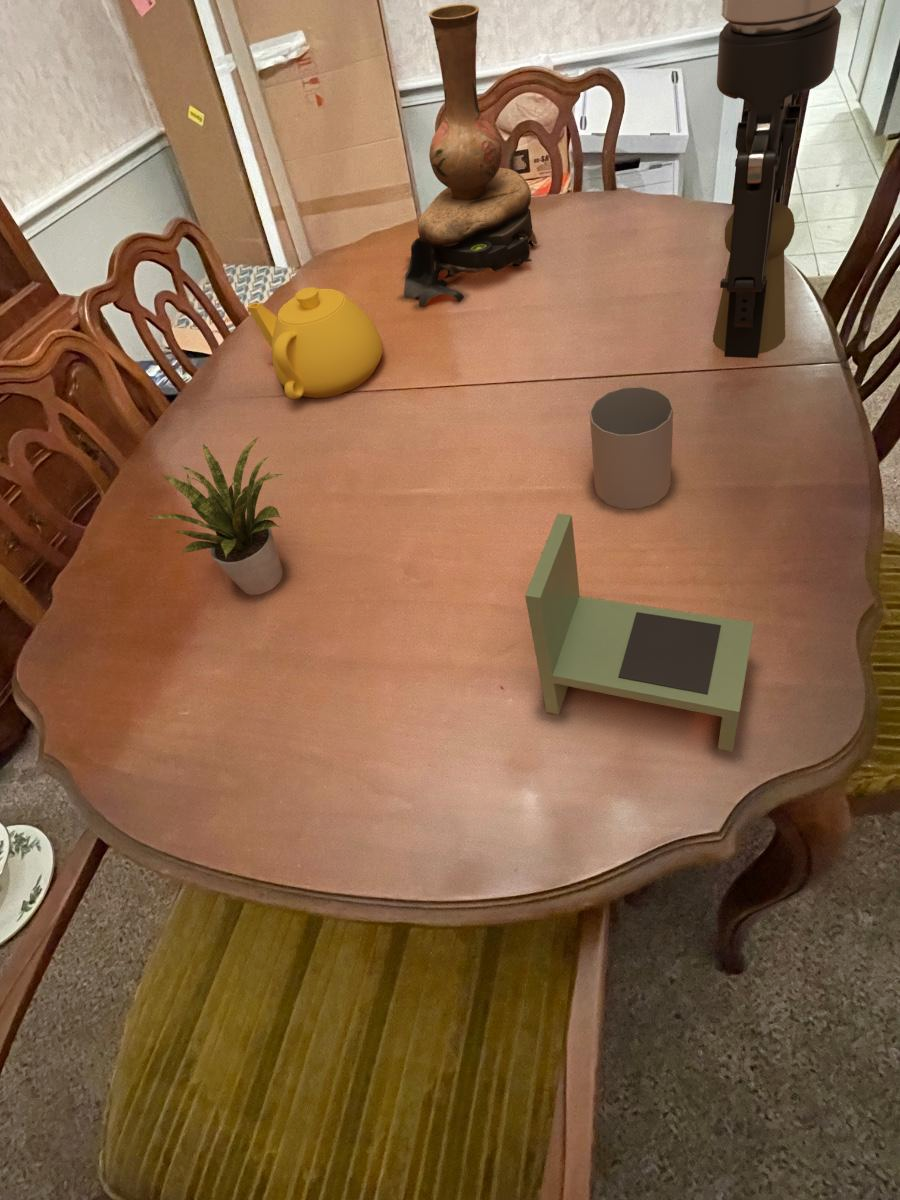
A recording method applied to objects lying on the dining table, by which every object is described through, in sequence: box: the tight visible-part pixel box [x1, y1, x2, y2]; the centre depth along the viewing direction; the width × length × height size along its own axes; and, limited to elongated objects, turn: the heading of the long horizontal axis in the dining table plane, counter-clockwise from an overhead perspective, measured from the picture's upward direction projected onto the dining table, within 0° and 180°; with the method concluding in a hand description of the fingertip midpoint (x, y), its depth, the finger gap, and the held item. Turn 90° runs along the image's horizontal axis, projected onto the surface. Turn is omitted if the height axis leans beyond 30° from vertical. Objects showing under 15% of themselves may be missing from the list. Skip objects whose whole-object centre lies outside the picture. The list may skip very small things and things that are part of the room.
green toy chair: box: [524, 513, 755, 753], centre depth 62 cm, size 16×9×16 cm, turn 69°
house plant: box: [147, 435, 285, 596], centre depth 81 cm, size 14×14×16 cm
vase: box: [403, 3, 538, 308], centre depth 116 cm, size 24×22×35 cm
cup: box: [589, 386, 674, 510], centre depth 82 cm, size 8×8×10 cm
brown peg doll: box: [712, 202, 796, 355], centre depth 63 cm, size 6×6×11 cm
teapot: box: [246, 286, 384, 400], centre depth 110 cm, size 20×19×13 cm
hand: (747, 333), depth 67 cm, fingers closed on brown peg doll, 6 cm apart
